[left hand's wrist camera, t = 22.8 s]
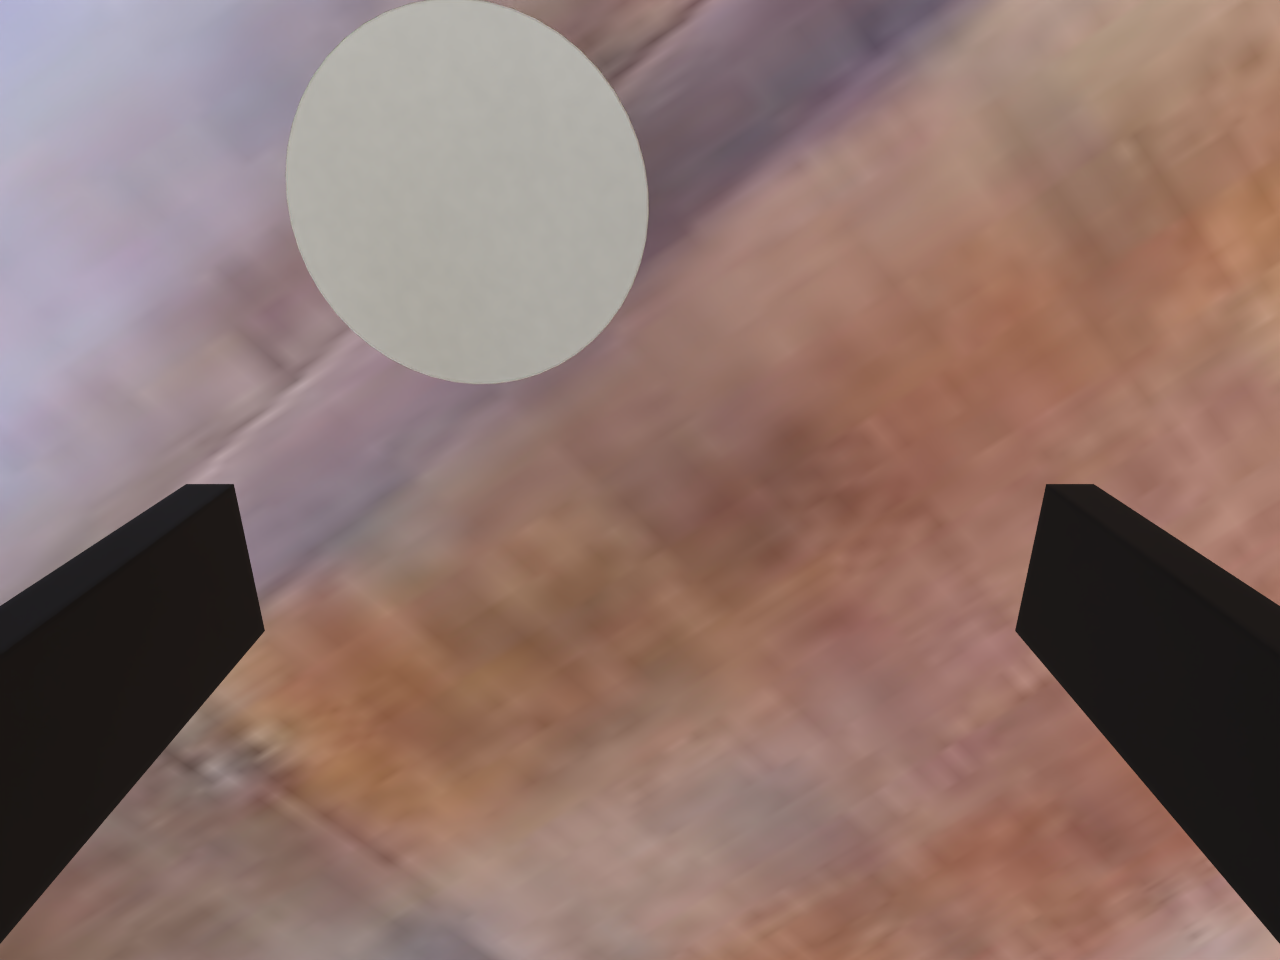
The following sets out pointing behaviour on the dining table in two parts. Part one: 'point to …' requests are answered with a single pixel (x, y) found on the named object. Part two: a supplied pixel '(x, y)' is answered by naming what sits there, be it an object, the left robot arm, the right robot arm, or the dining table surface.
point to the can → (467, 191)
